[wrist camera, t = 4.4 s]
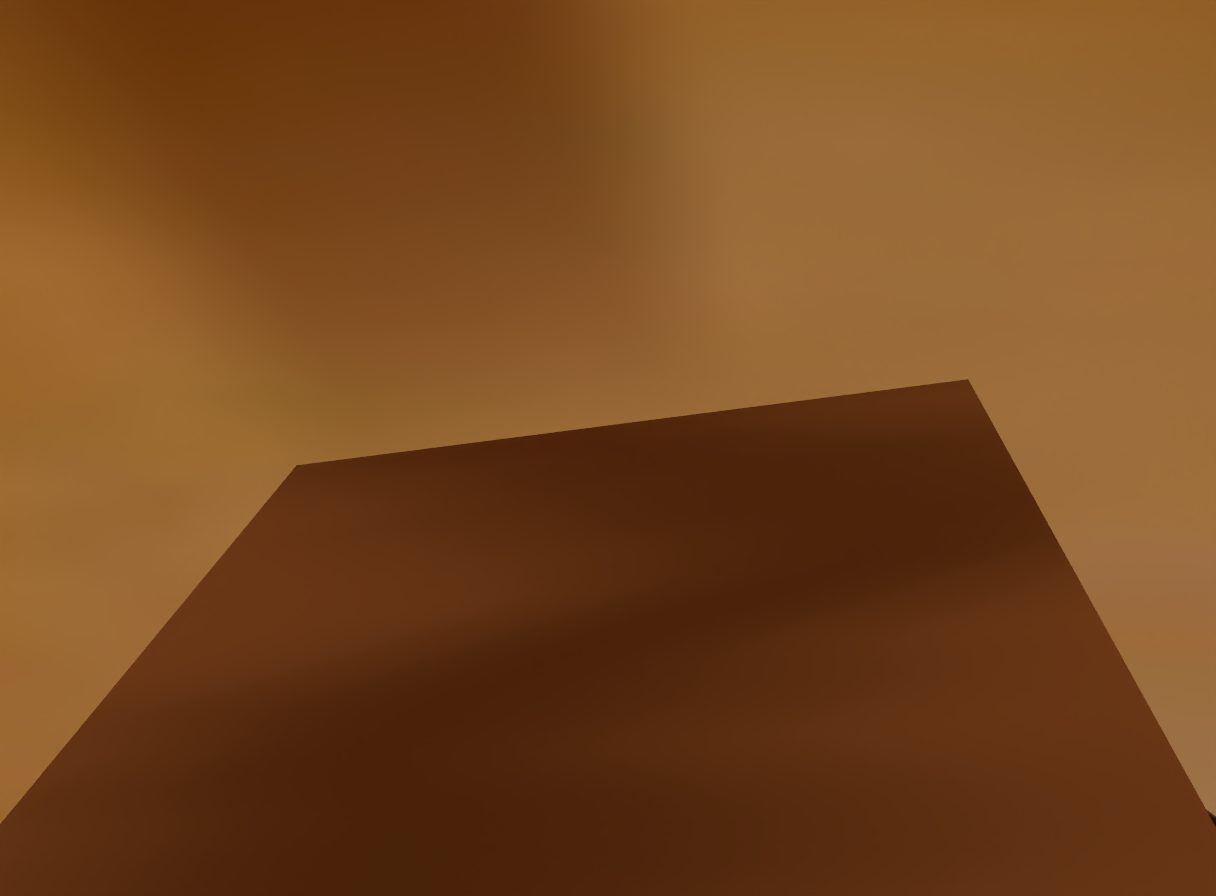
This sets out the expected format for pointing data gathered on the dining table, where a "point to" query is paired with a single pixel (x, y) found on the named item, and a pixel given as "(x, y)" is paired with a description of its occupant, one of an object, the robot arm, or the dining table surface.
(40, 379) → the dining table surface
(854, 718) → the walnut block
